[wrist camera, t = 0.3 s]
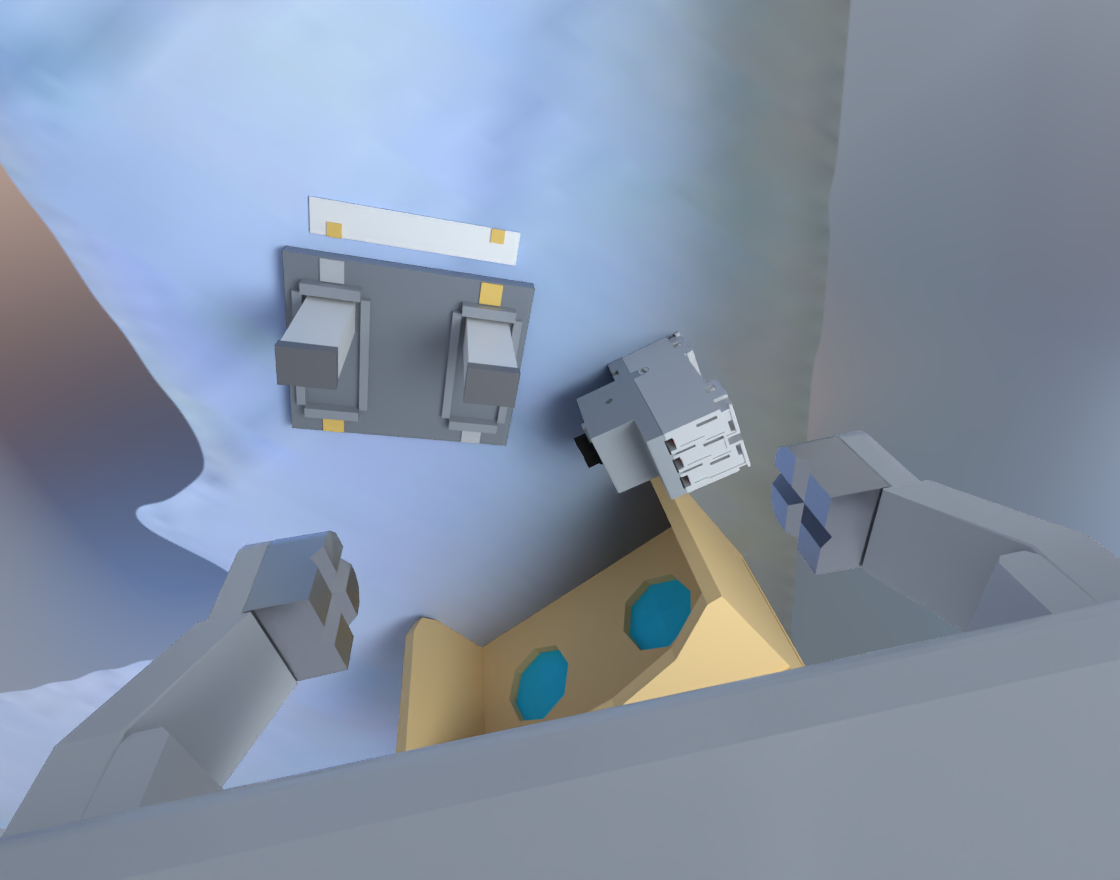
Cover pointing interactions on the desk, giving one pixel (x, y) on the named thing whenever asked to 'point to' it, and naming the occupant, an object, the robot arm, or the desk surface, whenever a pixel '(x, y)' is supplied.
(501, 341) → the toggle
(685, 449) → the circuit breaker
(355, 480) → the desk surface
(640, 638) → the cardboard box
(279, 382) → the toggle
